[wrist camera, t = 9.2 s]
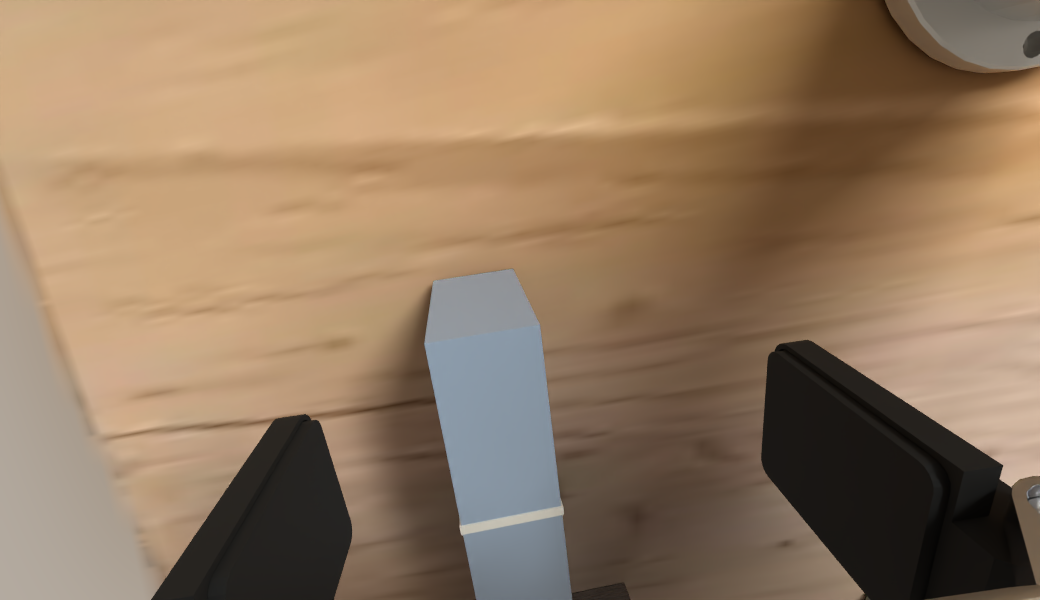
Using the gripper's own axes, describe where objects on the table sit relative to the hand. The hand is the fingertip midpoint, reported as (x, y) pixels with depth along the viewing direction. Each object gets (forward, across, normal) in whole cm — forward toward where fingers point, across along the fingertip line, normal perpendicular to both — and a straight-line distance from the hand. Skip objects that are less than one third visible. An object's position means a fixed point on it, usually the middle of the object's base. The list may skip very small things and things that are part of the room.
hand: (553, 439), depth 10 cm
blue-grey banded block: (+9, +2, +6) cm, 11 cm away
